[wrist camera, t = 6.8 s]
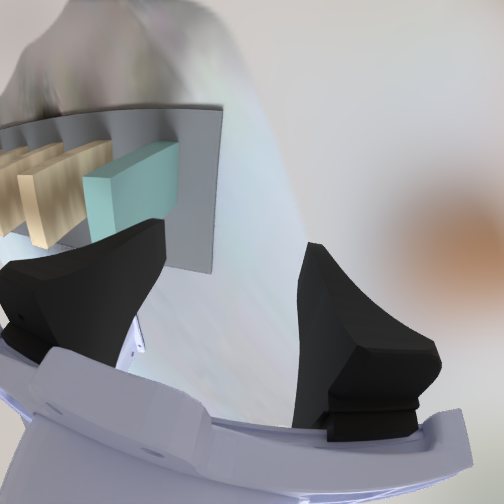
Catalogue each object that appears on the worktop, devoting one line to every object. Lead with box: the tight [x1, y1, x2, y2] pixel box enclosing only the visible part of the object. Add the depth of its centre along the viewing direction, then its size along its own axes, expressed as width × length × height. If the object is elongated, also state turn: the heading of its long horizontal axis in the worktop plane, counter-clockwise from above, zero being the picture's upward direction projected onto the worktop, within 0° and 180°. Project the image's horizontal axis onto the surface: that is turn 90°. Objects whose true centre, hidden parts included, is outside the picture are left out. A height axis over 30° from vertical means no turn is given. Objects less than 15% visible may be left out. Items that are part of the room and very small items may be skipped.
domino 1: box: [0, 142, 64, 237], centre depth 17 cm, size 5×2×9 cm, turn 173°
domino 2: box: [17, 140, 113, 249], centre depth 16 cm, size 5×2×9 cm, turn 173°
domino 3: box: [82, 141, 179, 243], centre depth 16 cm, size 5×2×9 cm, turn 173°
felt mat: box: [0, 109, 223, 274], centre depth 22 cm, size 14×31×1 cm, turn 83°
